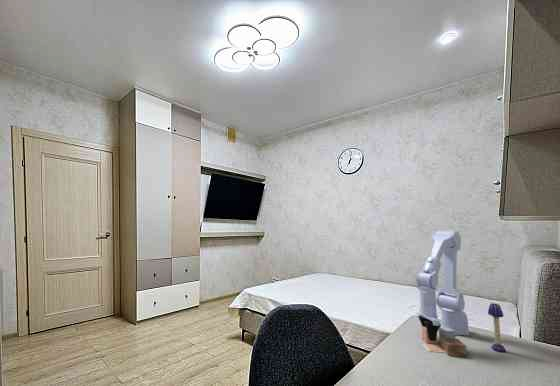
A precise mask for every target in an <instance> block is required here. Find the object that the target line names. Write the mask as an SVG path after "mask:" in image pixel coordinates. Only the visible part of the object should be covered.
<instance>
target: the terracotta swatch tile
mask: <svg viewBox="0 0 560 386" xmlns="http://www.w3.org/2000/svg"><path fill="white" fill-rule="evenodd" d="M422 346H423V347H424V348H425V349H426V350H427V351H428V352H433V353H445V354H446V352H445V351H444V350H443V349H442V348H441V345H439V344H427V343H422Z"/></svg>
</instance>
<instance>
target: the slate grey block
mask: <svg viewBox="0 0 560 386" xmlns="http://www.w3.org/2000/svg"><path fill="white" fill-rule="evenodd" d="M456 336H457V335H455V331H454V330H452V329H450V328H449V327H440V328H439V329H438V338H439V341H440V342H441V337H443V338H455V339H457V337H456Z"/></svg>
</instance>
